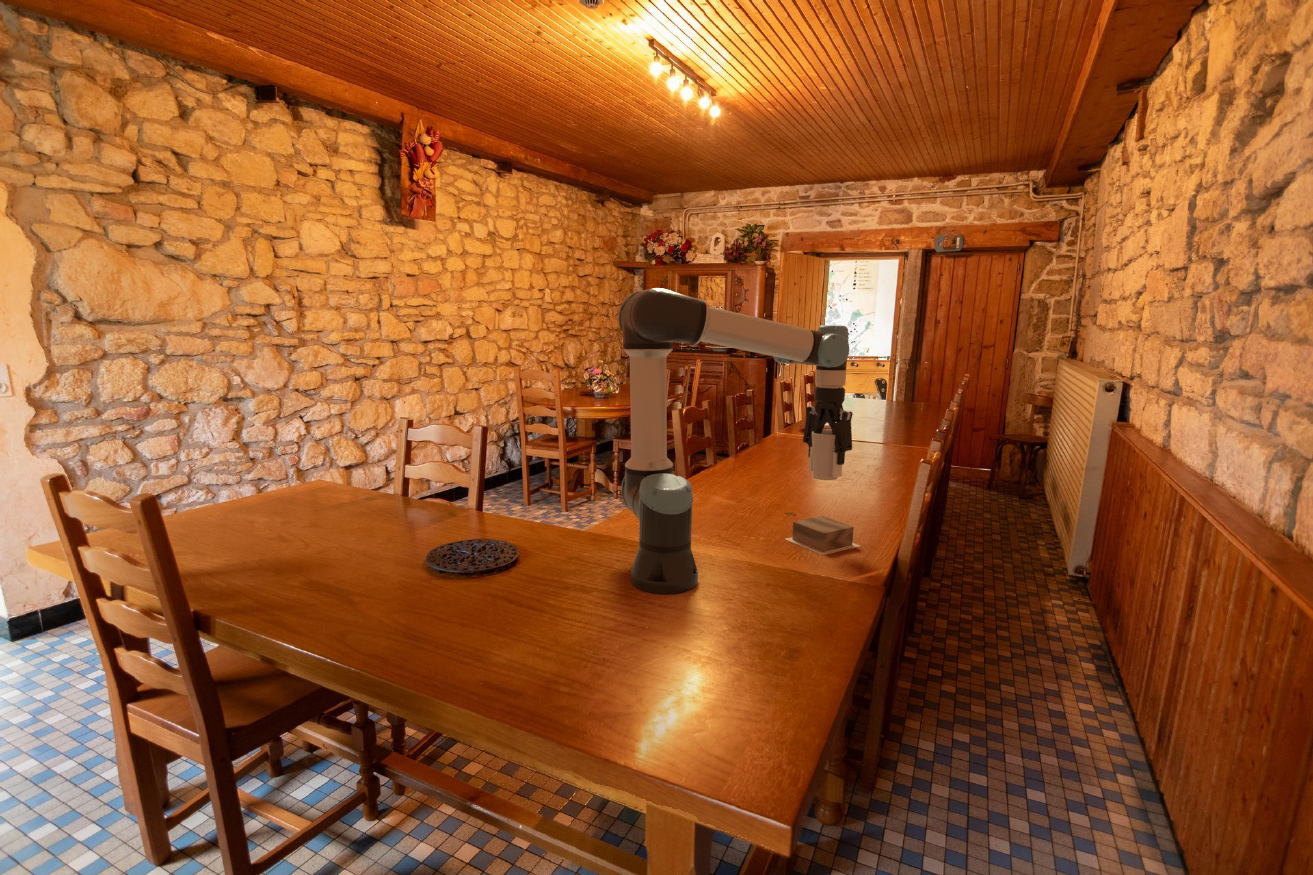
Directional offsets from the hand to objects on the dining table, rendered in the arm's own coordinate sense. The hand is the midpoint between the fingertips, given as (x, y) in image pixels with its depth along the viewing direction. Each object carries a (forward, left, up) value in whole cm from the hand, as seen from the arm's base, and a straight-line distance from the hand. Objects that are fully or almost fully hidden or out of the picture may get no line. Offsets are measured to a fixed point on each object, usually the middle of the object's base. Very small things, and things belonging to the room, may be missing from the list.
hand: (825, 473), depth 161 cm
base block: (0, 0, -19) cm, 19 cm away
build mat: (0, 0, -20) cm, 20 cm away
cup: (0, 0, -1) cm, 1 cm away
